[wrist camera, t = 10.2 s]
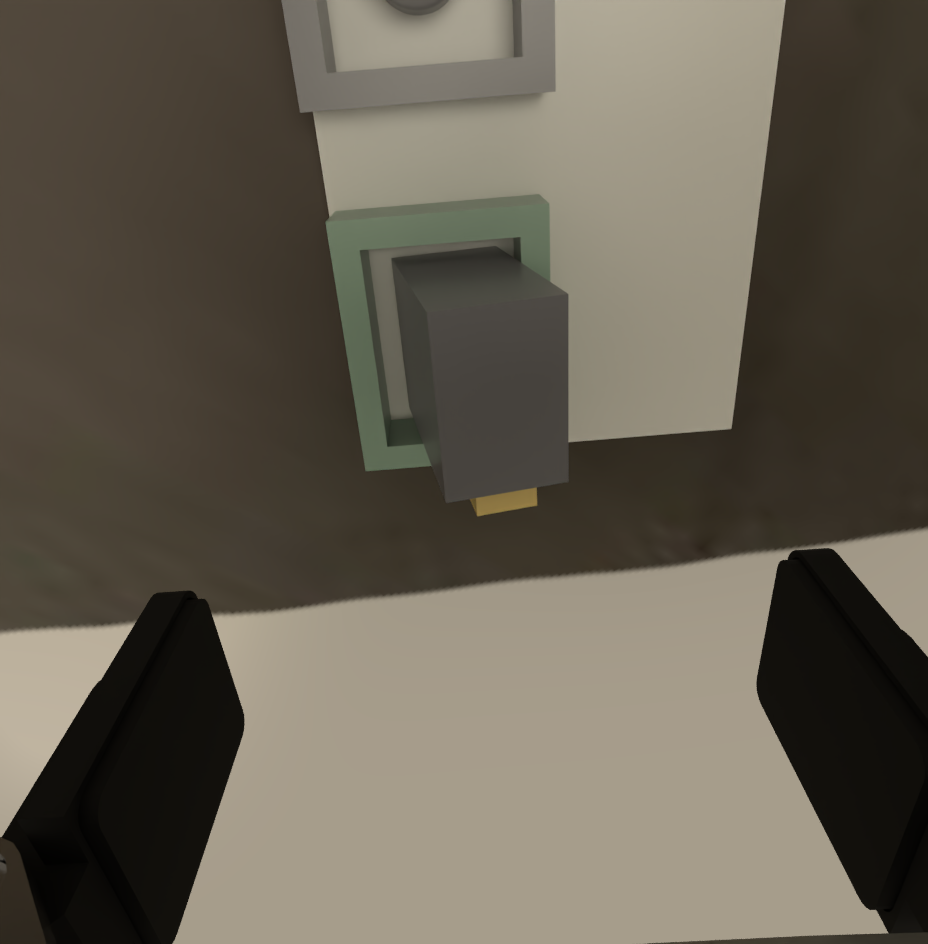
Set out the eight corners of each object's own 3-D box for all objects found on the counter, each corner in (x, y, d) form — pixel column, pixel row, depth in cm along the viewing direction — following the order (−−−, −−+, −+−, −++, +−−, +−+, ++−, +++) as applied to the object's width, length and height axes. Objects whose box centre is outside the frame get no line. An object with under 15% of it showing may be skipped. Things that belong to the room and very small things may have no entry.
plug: (495, 245, 26) (568, 293, 19) (504, 410, 29) (568, 503, 22) (391, 258, 25) (426, 312, 18) (411, 425, 28) (448, 525, 22)
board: (800, -253, 20) (869, -320, 17) (721, 417, 31) (754, 454, 28) (268, -208, 20) (237, -267, 17) (370, 446, 31) (362, 486, 28)
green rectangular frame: (538, 194, 25) (549, 203, 23) (543, 428, 30) (552, 455, 27) (335, 210, 25) (325, 221, 23) (371, 442, 30) (365, 471, 27)
